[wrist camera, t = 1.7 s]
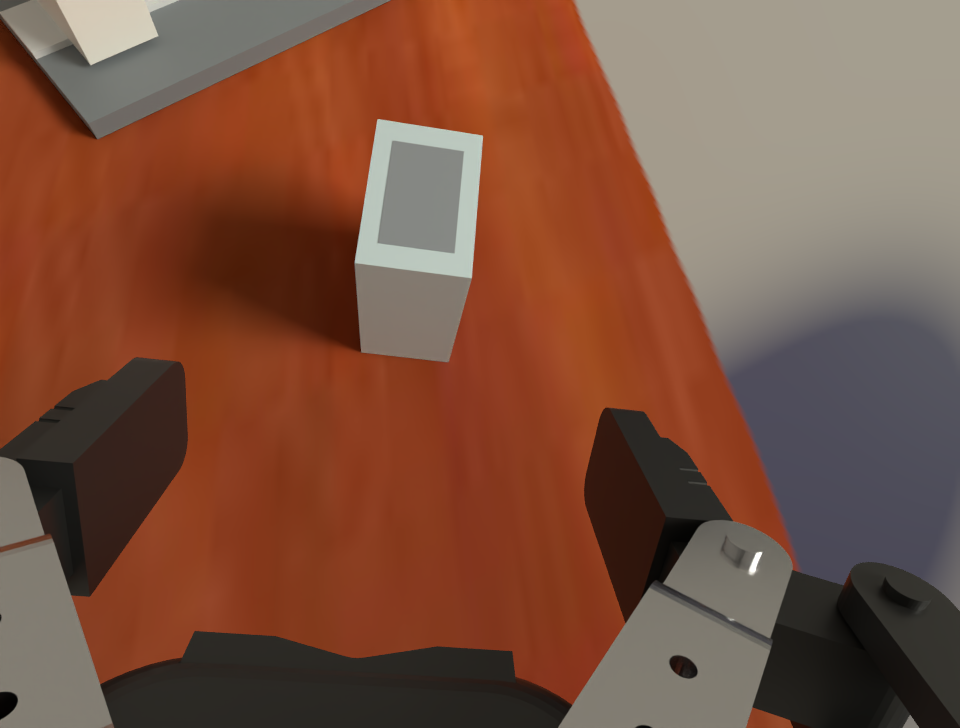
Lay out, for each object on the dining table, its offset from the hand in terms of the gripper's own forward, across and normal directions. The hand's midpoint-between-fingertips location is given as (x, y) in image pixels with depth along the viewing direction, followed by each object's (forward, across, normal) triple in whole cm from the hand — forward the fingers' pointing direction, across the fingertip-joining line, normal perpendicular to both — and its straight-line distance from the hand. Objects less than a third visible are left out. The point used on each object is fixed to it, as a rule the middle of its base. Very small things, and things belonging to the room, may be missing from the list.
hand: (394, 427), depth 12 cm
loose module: (+22, 0, +4) cm, 22 cm away
